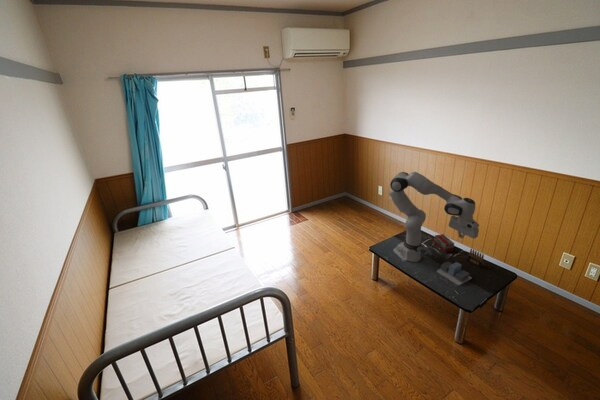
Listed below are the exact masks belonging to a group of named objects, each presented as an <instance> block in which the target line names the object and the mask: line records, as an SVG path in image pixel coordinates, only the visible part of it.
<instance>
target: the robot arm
mask: <svg viewBox="0 0 600 400" xmlns="http://www.w3.org/2000/svg"><path fill="white" fill-rule="evenodd" d="M389 186H390V190H389V192H388V194H389V196H390V199H391V200H392V203H393V204H394V206H395V207H396V208H397V209H398V211H399V213H402V214H404V215H406V217H407V219H406V220H405V222H404V228H405V230H406V231H405V232H406V236H405V239H403V241H402V242H400V243H398V244H397V245H396V247H395V248H393V251H392V252H393V253H395V254H396V256H398V258H400V259H401V260H402V261H403V262H411V263H416V262H419V261H420V260H421V259H422V256H421V247H422V235H423V234H422V226H423V224H424V223H425V221H426V216H427V214H426V212H425V211H424V210H423V209H419V208H418V207H417V206H416V205H414V203H413V201H412V200H411V199H410V198H409V196H408V195H407V194H406V193H405V189H407V188H408V187H411V188H413V189H414V190H415V191H417V192H418V193H420V194H421V195H424V196H429V195H436V196H438V197H439V198H441V199H443V200H444V201H445V203H446V204H444V208H443V209H444V212H445V213H446V214H447V215H449V216H450V218H449V222H448V227H450V228H452V229H454V230H456V231H457V235H458V237H459V238H461V239H465V236H467V237H469V238H471V239H477V238H478V237H479V231H480V230H479V227H480V224H479V223H478V222H477V221H476V220H475V219H474V214H475V211H476V202H475V201H474V199H473V198H469V197H463V198H462V197H461V196H460V195H456V194H455V193H452V192H450V191H448V190H446V189H445V188H443V187H442V186H440V185H438V184H436V183H434V182H433V181H432V180H430V179H429V178H427V177H426V176H424V175H423V174H421V173H419V172H417V171H412V172H410V173H407V172H405V171H402V172H399V173H397V174H396V175H395V176H394V177H393V178H392V179H391V180H390V185H389Z"/></svg>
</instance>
